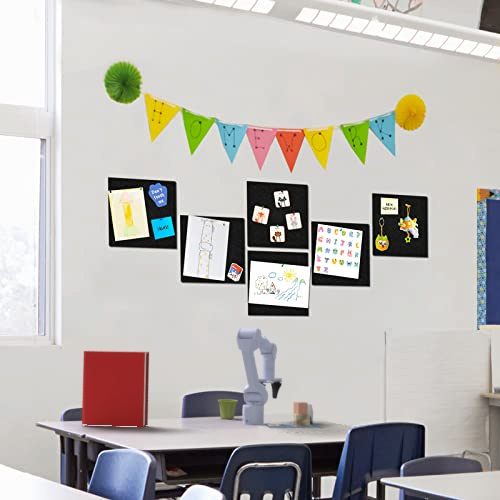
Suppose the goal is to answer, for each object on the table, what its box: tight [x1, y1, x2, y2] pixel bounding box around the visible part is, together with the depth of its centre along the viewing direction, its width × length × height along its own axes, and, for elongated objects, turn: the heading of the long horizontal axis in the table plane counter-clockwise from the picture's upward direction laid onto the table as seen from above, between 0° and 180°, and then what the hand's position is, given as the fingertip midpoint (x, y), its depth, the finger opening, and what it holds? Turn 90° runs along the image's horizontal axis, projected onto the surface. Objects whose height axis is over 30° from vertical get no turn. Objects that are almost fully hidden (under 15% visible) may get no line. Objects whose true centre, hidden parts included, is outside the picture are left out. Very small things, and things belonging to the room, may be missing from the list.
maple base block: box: [293, 413, 311, 426], centre depth 444 cm, size 6×6×5 cm
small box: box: [293, 403, 314, 424], centre depth 454 cm, size 8×6×10 cm
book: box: [81, 350, 150, 428], centre depth 436 cm, size 27×8×32 cm, turn 83°
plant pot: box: [217, 399, 239, 420], centre depth 476 cm, size 9×9×9 cm
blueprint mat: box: [264, 423, 325, 429], centre depth 442 cm, size 24×16×1 cm, turn 99°
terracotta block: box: [293, 401, 309, 415], centre depth 445 cm, size 4×4×5 cm
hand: (268, 398), depth 465 cm, fingers open, 7 cm apart
